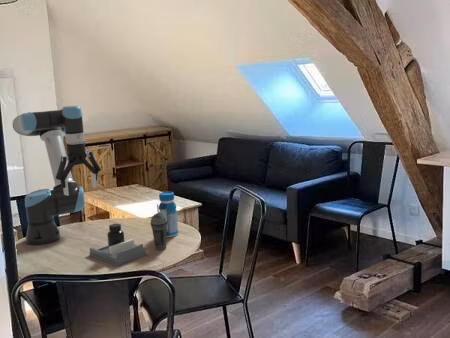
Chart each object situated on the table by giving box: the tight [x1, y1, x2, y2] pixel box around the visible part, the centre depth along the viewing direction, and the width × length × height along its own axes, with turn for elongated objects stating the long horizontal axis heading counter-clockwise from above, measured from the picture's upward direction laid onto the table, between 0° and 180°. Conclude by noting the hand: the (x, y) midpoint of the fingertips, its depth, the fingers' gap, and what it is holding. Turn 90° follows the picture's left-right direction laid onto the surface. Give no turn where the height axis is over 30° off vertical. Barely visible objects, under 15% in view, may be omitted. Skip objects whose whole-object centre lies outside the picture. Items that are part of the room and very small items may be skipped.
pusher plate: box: [109, 238, 135, 257], centre depth 202 cm, size 1×11×5 cm, turn 136°
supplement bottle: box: [106, 223, 126, 248], centre depth 204 cm, size 7×7×12 cm
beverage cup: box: [150, 203, 168, 251], centre depth 208 cm, size 7×7×20 cm
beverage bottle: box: [158, 191, 179, 238], centre depth 225 cm, size 8×8×20 cm
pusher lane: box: [89, 243, 147, 267], centre depth 204 cm, size 20×15×5 cm
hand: (80, 191), depth 210 cm, fingers open, 13 cm apart
